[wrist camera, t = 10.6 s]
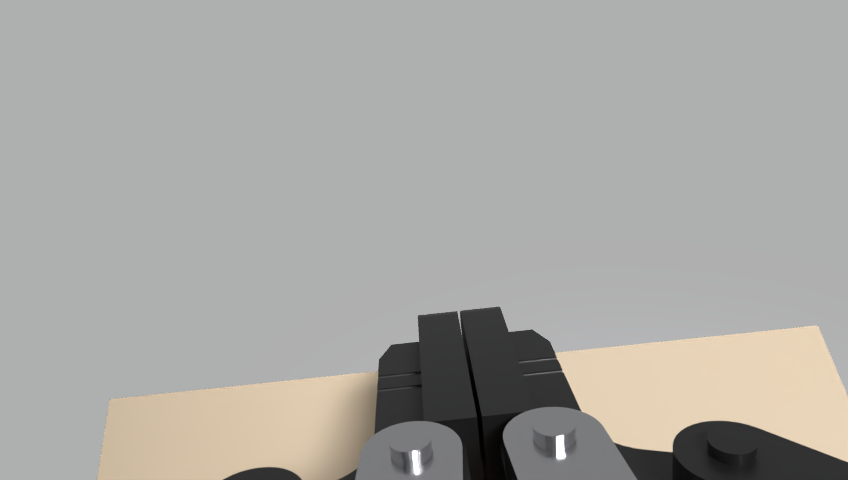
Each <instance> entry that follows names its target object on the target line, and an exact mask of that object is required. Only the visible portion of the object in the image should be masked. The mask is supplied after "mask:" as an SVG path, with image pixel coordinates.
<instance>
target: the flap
mask: <svg viewBox="0 0 848 480" xmlns="http://www.w3.org/2000/svg"><path fill="white" fill-rule="evenodd" d="M555 354H556V357H557V360H558V361H559V363H560V365H561V368H562V371H563V373H564V374H565V376H566V379H567V381H568V383H569V385H570V387H571V390H572V392H573V394H574V396H575V398H576V401H577V403H578V405H579V407H580V409H581V411H582V412H584V413H586V414H589V415H591V416H592V417H594V418H595V419H597V420H598V421H599V422H600V423H601V424H602V425H603V427H604V428H605V430H606V431H607V433H608V434H609V436H610V438H611V439H612V441H613V442H614V443H617V444H620V445H623V446H627V447H631V448H637V449H645V450H655V451H665V452H673V441H674V439H675V437H676V435H677V434H678V433H679V432H680V431H681V430H683V429H684V428H686V427H688V426H690V425H693V424H696V423H700V422H706V421H731V422H738V423H743V424H747V425H751V426H754V427H757V428H759V429H762V430H765V431H767V432H770V433H773V434H775V435H778V436H780V437H783V438H786V439H788V440H791V441H794V442H796V443H799V444H801V445H804V446H807V447H809V448H812V449H815V450H817V451H820V452H822V453H825V454H828V455H830V456H833V457H835V458H838V459H841V460H843V461H846V462H848V396H847V393H846V391H845V389H844V386H843V384H842V382H841V379H840V378H839V375H838V372H837V370H836V367H835V365H834V363H833V360H832V358H831V356H830V353H829V351H828V349H827V346H826V344H825V341H824V339H823V337H822V335H821V332H820V330H819V328H818V326H809V327H799V328H790V329H780V330H770V331H761V332H751V333H742V334H733V335H722V336H714V337H703V338H693V339H684V340H674V341H665V342H655V343H645V344H637V345H626V346H617V347H607V348H598V349H588V350H578V351H568V352H560V353H555ZM377 385H378V371H376V372H366V373H356V374H347V375H337V376H328V377H318V378H309V379H299V380H289V381H279V382H270V383H260V384H251V385H241V386H232V387H222V388H213V389H202V390H194V391H183V392H174V393H165V394H155V395H145V396H136V397H125V398H116V399H110V401H109V408H108V414H107V421H106V427H105V433H104V439H103V445H102V451H101V458H100V464H99V471H98V477H97V480H223V479H225V478H227V477H229V476H231V475H233V474H236V473H239V472H242V471H245V470H249V469H254V468H260V467H278V468H283V469H287V470H290V471H292V472H293V473H295V474H297V475H298V476H299V477H300V478H301V479H302V480H338V479H340V478H342V477H344V476H346V475H348V474H350V473H351V472H353V471H354V470H356V469H357V468H358V463H359V459H360V454H361V451H362V448H363V446H364V445H365V443H366V442H367V441H368V440H369V439H370V438H371V437H372V436H373V435H374V432H375V416H376V400H377Z"/></svg>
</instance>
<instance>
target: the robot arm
mask: <svg viewBox="0 0 848 480" xmlns="http://www.w3.org/2000/svg"><path fill="white" fill-rule="evenodd" d="M460 318H461V329H460V324H459V319H458V314H457V311H456V312H446V313H437V314H428V315H419V316H418V327H419V342H414V343H404V344H395V345H391V346H390V347H389V349H388V350H387V351H386V352H385V353H384V355H383V356H382V357H381V358H380V359H379V369H378V385H377V400H376V416H375V432H374V435H373V436H372V437H371V438H370V439H369V440H368V441H367V442H366V443H365V445H364V446H363V448H362V451H361V454H360V459H359V463H358V468H357V469H356V470H354V471H353V472H351V473H350V474H348V475H346V476H344V477H342V478H340V479H338V480H848V462H846V461H843V460H841V459H838V458H835V457H833V456H830V455H828V454H825V453H822V452H820V451H817V450H815V449H812V448H809V447H807V446H804V445H801V444H799V443H796V442H794V441H791V440H788V439H786V438H783V437H780V436H778V435H775V434H773V433H770V432H767V431H765V430H762V429H759V428H757V427H754V426H751V425H747V424H743V423H738V422H731V421H706V422H700V423H696V424H693V425H690V426H688V427H686V428H684V429H683V430H681V431H680V432H679V433H678V434H677V435H676V437H675V439H674V441H673V452H665V451H655V450H645V449H637V448H631V447H627V446H623V445H620V444H617V443H614V442H613V441H612V439H611V438H610V436H609V434H608V433H607V431H606V430H605V428H604V427H603V425H602V424H601V423H600V422H599V421H598V420H597V419H595V418H594V417H592V416H591V415H589V414H586V413H584V412H582V411H581V409H580V407H579V405H578V403H577V401H576V398H575V396H574V394H573V392H572V390H571V387H570V385H569V383H568V381H567V379H566V376H565V374H564V373H563V371H562V368H561V365H560V363H559V361H558V360H557V357H556V354H555V352H554V350H553V348H552V346H551V343H550V342H549V341H548V340H547V339H545V338H544V337H542V336H541V335H539V334H538V333H536V332H535V331H533V330H525V331H516V332H508V329H507V326H506V323H505V320H504V317H503V314H502V311H501V309H500V307H493V308H484V309H473V310H464V311H461V312H460ZM461 330H462V335H461ZM223 480H302V479H301V478H300V477H299V476H298V475H297V474H295V473H293V472H292V471H290V470H287V469H283V468H278V467H260V468H254V469H249V470H245V471H242V472H239V473H236V474H233V475H231V476H229V477H227V478H225V479H223Z"/></svg>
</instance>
